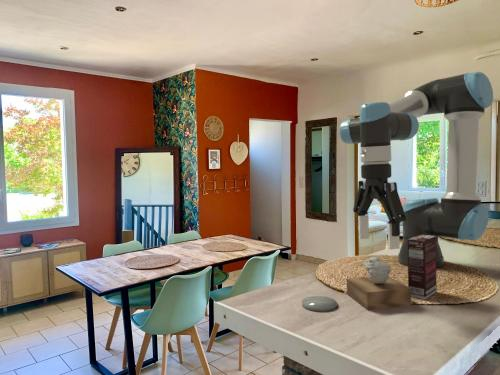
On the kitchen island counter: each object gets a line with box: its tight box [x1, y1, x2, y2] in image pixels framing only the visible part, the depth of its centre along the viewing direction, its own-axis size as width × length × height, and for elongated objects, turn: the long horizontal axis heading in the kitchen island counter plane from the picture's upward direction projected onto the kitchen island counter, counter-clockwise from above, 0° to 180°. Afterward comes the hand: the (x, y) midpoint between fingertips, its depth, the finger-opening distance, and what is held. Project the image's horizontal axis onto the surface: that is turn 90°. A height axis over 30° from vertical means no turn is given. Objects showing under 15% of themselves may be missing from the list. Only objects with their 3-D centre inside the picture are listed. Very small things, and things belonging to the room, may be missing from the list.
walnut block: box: [346, 276, 412, 311], centre depth 102 cm, size 12×12×5 cm
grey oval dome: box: [301, 295, 338, 313], centre depth 99 cm, size 9×9×1 cm
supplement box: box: [407, 235, 438, 300], centre depth 105 cm, size 9×5×16 cm, turn 135°
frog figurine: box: [363, 256, 392, 284], centre depth 101 cm, size 6×7×7 cm
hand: (378, 243), depth 101 cm, fingers open, 13 cm apart
